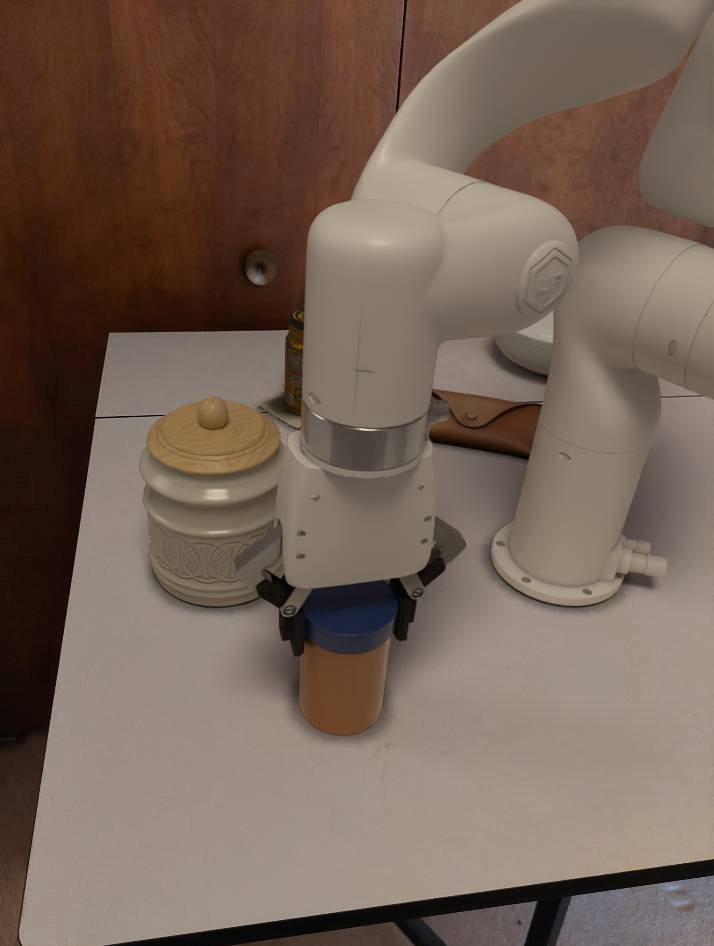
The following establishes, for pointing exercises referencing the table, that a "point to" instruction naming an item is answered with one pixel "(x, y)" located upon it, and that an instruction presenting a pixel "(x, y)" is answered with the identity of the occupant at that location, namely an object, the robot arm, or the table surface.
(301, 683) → the jam jar
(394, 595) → the lid
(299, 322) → the condiment
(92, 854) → the table surface
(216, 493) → the jar
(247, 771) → the table surface
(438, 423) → the sunglasses case
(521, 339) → the cereal bowl
